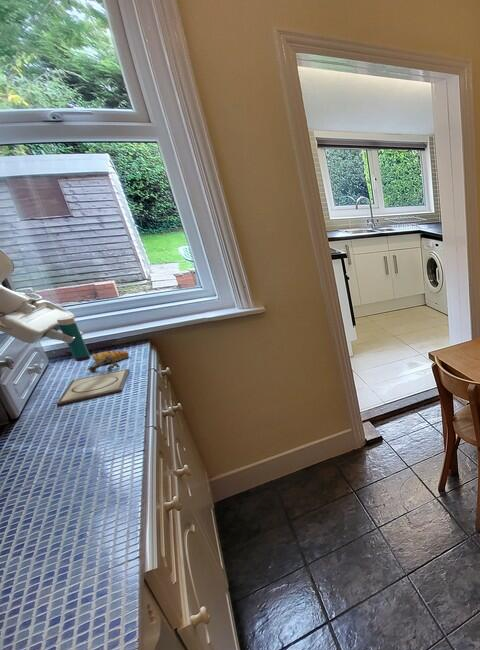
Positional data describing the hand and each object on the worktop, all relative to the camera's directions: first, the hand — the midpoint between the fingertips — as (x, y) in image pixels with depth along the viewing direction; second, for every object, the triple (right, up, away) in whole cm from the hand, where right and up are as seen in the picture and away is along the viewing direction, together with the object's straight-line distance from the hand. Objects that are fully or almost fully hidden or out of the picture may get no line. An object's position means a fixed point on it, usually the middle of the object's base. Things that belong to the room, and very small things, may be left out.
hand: (77, 338), depth 113 cm
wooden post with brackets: (-19, -9, +27) cm, 35 cm away
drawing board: (-9, -14, +15) cm, 22 cm away
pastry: (-25, -6, +35) cm, 43 cm away
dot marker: (-1, -6, +2) cm, 6 cm away
